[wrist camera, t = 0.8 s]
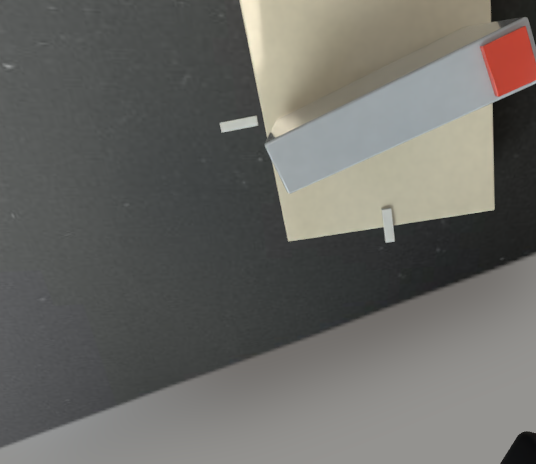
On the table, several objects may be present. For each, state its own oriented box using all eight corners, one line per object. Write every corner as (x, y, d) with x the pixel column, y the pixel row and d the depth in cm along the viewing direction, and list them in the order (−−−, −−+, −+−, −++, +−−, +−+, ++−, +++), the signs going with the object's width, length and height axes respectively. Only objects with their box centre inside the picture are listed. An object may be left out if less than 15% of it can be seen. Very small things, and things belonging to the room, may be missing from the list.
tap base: (507, 194, 20) (542, 220, 17) (260, 233, 21) (252, 262, 18) (504, -106, 16) (550, -142, 13) (201, -29, 17) (179, -45, 14)
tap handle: (293, 159, 17) (288, 198, 12) (274, 120, 16) (262, 146, 12) (480, 71, 15) (551, 80, 11) (465, 25, 15) (533, 14, 10)
